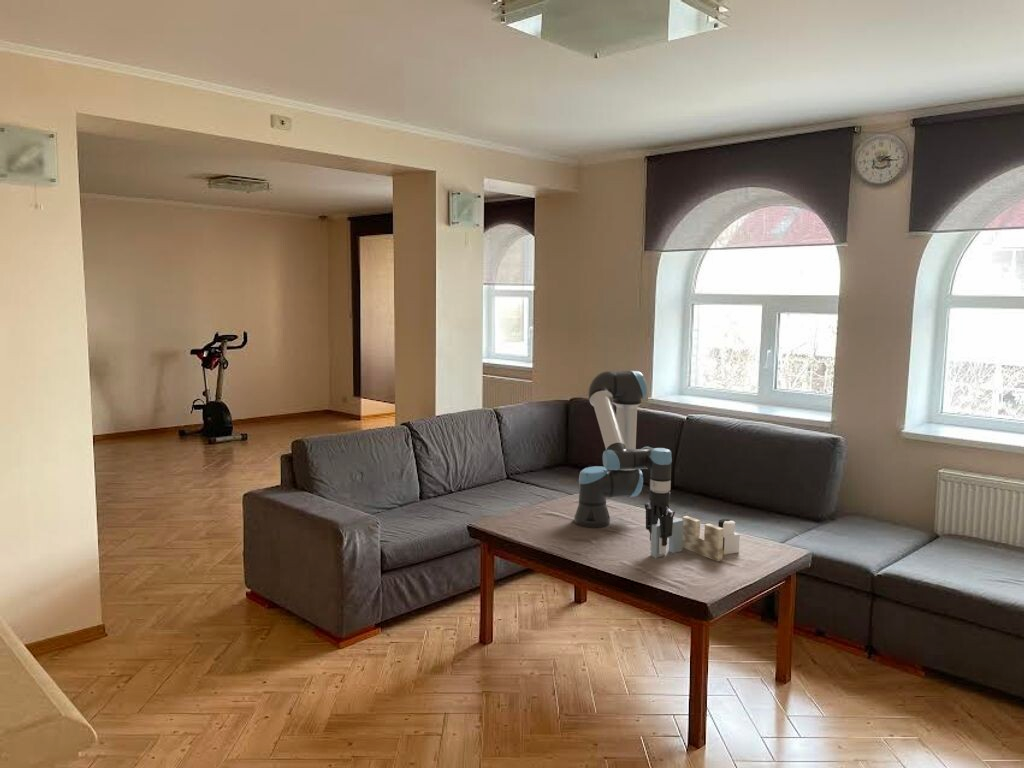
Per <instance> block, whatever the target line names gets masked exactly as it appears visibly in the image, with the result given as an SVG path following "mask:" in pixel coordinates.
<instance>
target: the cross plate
mask: <svg viewBox="0 0 1024 768" xmlns="http://www.w3.org/2000/svg"><path fill="white" fill-rule="evenodd" d="M664 534H665V533H664ZM660 536H661V529H660V522H658V523H657V524H653V525H652V537H651V541H650V549H651V550H650V557H653V558H655V559H657V558H660V557H665V556H666V553H664V554H659V537H660ZM667 539H668V552H670V553H672V554H675V553H679V552H682V551H683V520H682V518H675V519H673V527H672V536H670V537H667Z"/></svg>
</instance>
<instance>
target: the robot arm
mask: <svg viewBox="0 0 1024 768" xmlns="http://www.w3.org/2000/svg"><path fill="white" fill-rule="evenodd" d="M646 382H647V381H646V378H645V376H644V374H643V373H642V372H640V371H639V370H611V371H610V370H609V371H608V370H606V371H602V372H600V373H598V374H597V375H596V376H595V377H594V378H593V379H592V380H591V382H590V385H589V387H588V394H587V396H588V400H589V403H590V405H591V406H592V407H593V408H594V412H595V416H596V419H597V423H598V426H599V430H600V433H601V437H602V441H603V443H604V448H605V450H603V453H602V465H603V466H602V465H601V466H598V465H596V466H595V465H594V466H588V467H585V468H583V469H582V470H580V472H579V477H578V505H577V508H576V512H575V514H574V517H573V522H574V524H576V525H578V526H580V527H586V528H603V527H607V526H609V525H610V524H611V516H610V513H609V510H608V506H607V499H612V498H613V499H615V498H616V499H617V498H633V497H637V496H639V495H640V493H641V492H642V490H643V489H642V488H643V486H644V476H643V475H644V474H643V472H642V470H649V471H650V472H649V496H648V497H649V498H648V499H649V501H650V502H647V503H644V508H645V530H647V531H648V532H649V541H650V542H651V537H652V525H653V524H658V523H660V529H661V536H660V537H659V554H664V553H665V554H666V552H667V545H668V538H667V537H670V536H672V527H673V520H674V516H675V514H676V512H675V511H674V510H671V509H670V506H669V505H670V501H671V487H672V486H671V484H672V481H671V479H672V462H673V461H672V460H673V459H672V451H671V450H670V449H668V448H665V447H655V448H654V447H650V446H644V447H642V448H638V449H637V448H636V447H637V446H636V445H637V423H638V421H637V420H638V407H640V405H642V400H643V399H645V398H646V397H647V394H648V393H647V391H648V389H647V388H648V387H647V383H646ZM613 404H614V405H615V406H616V411H615V407H614V405H613ZM658 521H659V522H658ZM664 533H665V534H664ZM649 551H651V548H650V550H649Z"/></svg>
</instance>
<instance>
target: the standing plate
mask: <svg viewBox="0 0 1024 768" xmlns="http://www.w3.org/2000/svg"><path fill="white" fill-rule="evenodd" d="M681 520H683V547H682V549H686V550H688V551H691V552H694V553H696V554H699V555H700V556H703V557H706V558H709V559H711V560H713V561H715V562H720V561H723V554H722V553H723V531H724V528H721V527H718V525H715V524H711V523H706V524H704V534H703V535H704V536H701V535H700V534H701V520H700V519H697V518H695V517H691V516H688V515H685V516H682V518H681Z"/></svg>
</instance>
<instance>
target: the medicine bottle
mask: <svg viewBox="0 0 1024 768" xmlns="http://www.w3.org/2000/svg"><path fill="white" fill-rule="evenodd" d="M717 526H718V527H721V528H724V531H723V553H722V556H725V555H731V554H732V555H733V554H737V553H740V552H739V551H740V538H741V537H740V534H739V533H737V532H736V522H735V521H734V520H732V519H729V518H721V519H719V520H718V524H717Z"/></svg>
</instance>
